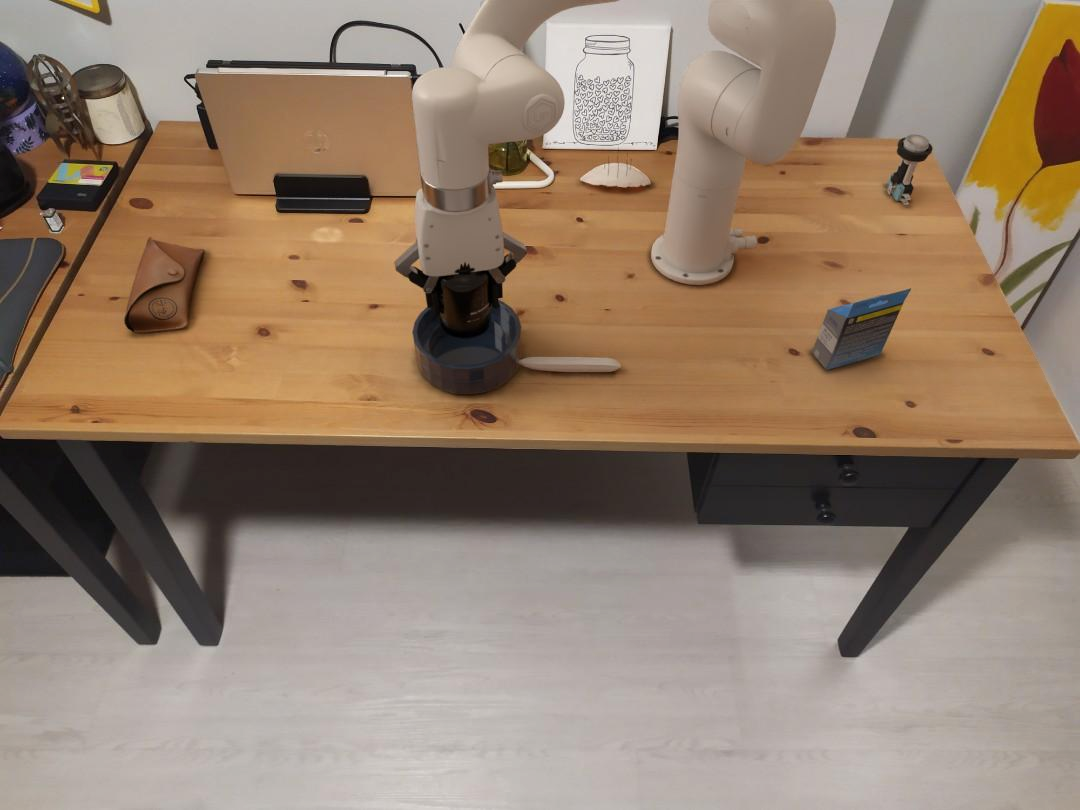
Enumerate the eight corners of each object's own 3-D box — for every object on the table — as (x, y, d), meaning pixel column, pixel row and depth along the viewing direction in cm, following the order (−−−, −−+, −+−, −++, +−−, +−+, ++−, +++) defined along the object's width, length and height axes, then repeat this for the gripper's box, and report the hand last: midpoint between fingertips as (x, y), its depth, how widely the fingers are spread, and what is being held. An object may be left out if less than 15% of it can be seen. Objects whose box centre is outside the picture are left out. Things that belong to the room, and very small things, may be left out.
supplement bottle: (485, 344, 103) (481, 270, 94) (433, 336, 104) (424, 262, 95) (497, 309, 107) (495, 235, 98) (448, 301, 108) (441, 228, 99)
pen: (516, 364, 110) (516, 355, 109) (619, 365, 110) (621, 356, 109) (516, 372, 109) (516, 363, 108) (620, 373, 109) (621, 364, 108)
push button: (920, 206, 135) (943, 153, 127) (889, 208, 135) (911, 154, 127) (905, 183, 139) (927, 130, 132) (875, 185, 139) (895, 131, 131)
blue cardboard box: (864, 337, 114) (894, 269, 105) (881, 356, 112) (913, 287, 102) (810, 352, 112) (835, 284, 103) (826, 372, 110) (853, 303, 100)
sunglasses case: (191, 326, 113) (151, 297, 109) (155, 348, 116) (114, 321, 111) (206, 246, 125) (171, 217, 120) (173, 268, 127) (137, 240, 123)
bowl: (510, 316, 116) (509, 287, 112) (531, 388, 107) (531, 359, 103) (411, 330, 114) (407, 301, 110) (424, 404, 105) (419, 375, 101)
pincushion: (579, 192, 136) (581, 163, 132) (580, 172, 140) (581, 143, 136) (650, 195, 136) (654, 166, 132) (649, 175, 140) (653, 145, 136)
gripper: (525, 158, 94) (525, 277, 107) (374, 175, 91) (393, 295, 104) (539, 195, 89) (537, 315, 102) (380, 214, 86) (400, 335, 100)
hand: (464, 304), depth 103 cm, fingers closed on supplement bottle, 6 cm apart
